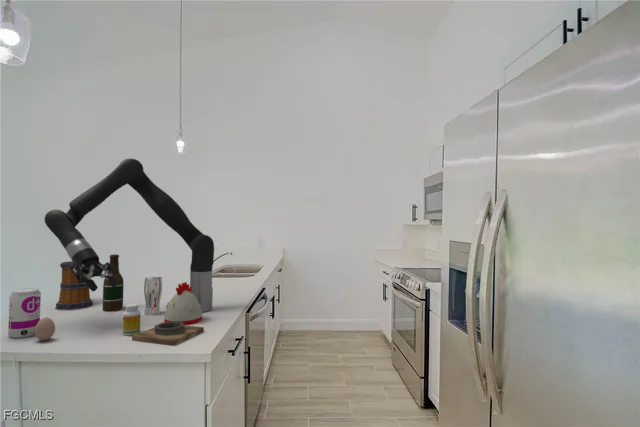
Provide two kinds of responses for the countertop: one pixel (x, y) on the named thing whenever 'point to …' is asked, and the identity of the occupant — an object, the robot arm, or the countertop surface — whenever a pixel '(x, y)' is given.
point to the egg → (45, 329)
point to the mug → (72, 290)
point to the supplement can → (24, 312)
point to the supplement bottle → (131, 320)
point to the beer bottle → (113, 289)
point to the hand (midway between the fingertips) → (105, 287)
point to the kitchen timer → (183, 307)
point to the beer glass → (152, 295)
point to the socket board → (167, 338)
